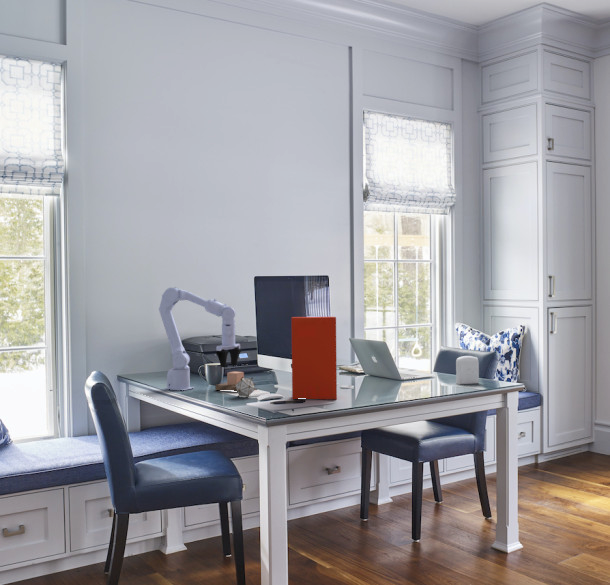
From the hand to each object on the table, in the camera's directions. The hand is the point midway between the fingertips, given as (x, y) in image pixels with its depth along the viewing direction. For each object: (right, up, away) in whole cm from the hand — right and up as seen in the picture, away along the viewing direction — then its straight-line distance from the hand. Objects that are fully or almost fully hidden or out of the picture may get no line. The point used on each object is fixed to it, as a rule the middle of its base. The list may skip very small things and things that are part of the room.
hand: (228, 366), depth 315 cm
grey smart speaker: (+105, -9, +9) cm, 106 cm away
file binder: (+37, -10, -27) cm, 47 cm away
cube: (+3, -7, -4) cm, 9 cm away
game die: (+9, -10, -23) cm, 27 cm away
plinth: (+3, -10, -3) cm, 11 cm away
